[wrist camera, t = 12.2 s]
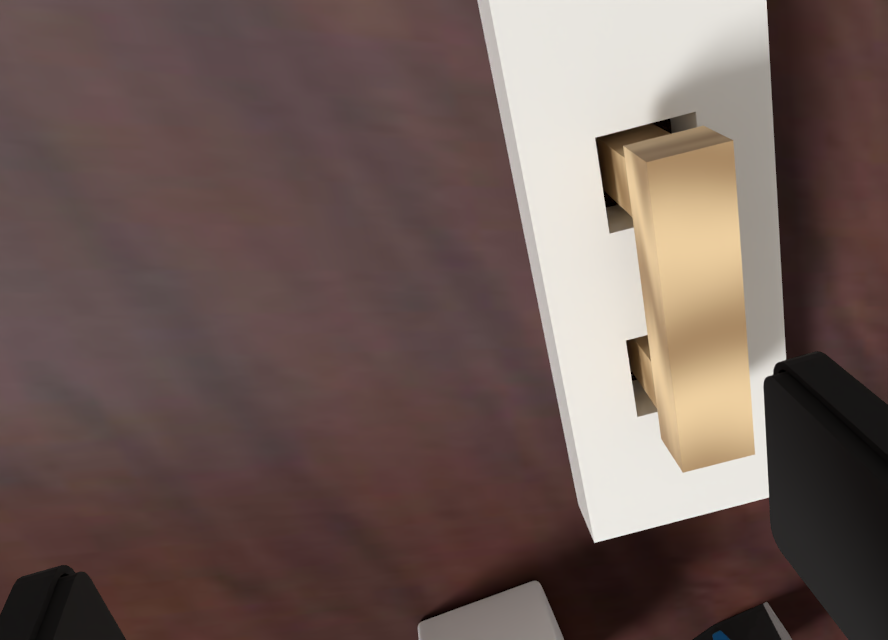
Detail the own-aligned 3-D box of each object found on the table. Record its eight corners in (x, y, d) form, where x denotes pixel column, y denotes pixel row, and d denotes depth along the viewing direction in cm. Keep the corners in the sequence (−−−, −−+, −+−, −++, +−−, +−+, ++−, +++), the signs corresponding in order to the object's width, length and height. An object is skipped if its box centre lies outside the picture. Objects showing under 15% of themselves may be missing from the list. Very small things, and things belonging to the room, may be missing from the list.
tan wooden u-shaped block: (586, 119, 34) (646, 162, 27) (655, 101, 34) (733, 140, 27) (625, 382, 39) (682, 472, 33) (684, 367, 40) (755, 454, 33)
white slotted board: (472, -24, 31) (484, -22, 28) (725, -90, 31) (761, -94, 28) (578, 504, 42) (594, 542, 40) (764, 456, 42) (793, 490, 40)
